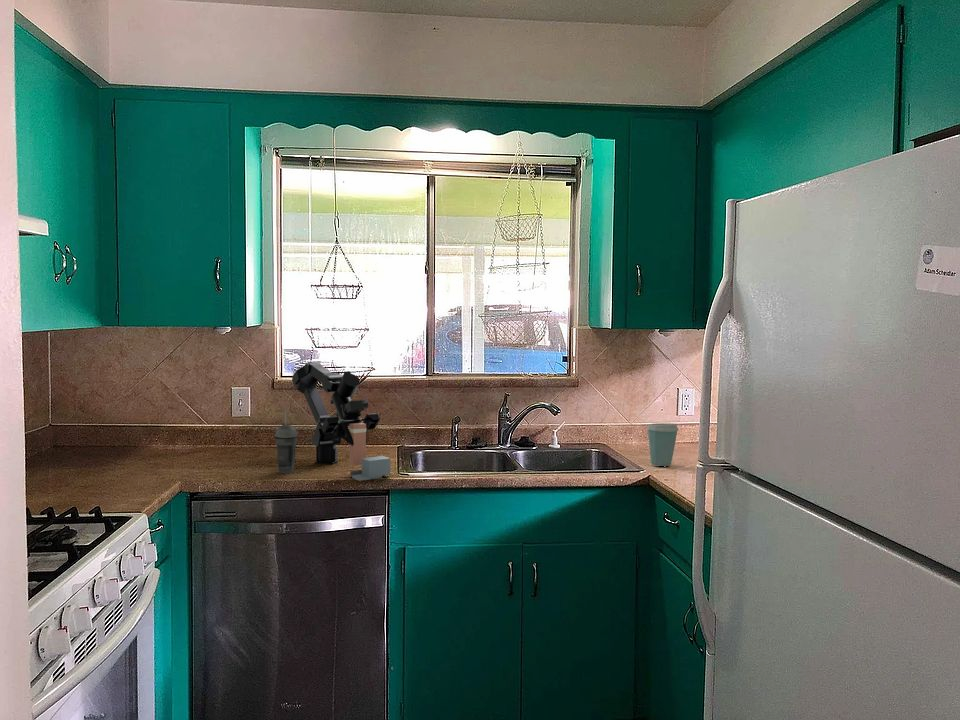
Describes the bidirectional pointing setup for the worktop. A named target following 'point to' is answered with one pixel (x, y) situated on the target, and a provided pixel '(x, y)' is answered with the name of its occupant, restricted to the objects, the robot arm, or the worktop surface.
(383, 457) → the dispenser
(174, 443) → the worktop surface
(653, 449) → the disposable coffee cup
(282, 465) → the beverage cup
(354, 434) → the pink bottle
